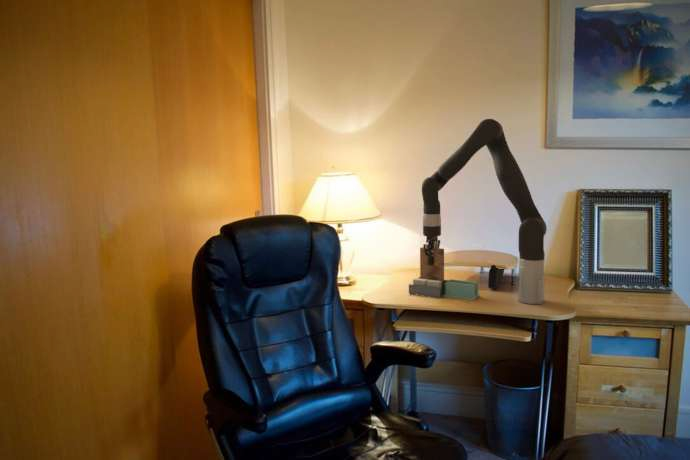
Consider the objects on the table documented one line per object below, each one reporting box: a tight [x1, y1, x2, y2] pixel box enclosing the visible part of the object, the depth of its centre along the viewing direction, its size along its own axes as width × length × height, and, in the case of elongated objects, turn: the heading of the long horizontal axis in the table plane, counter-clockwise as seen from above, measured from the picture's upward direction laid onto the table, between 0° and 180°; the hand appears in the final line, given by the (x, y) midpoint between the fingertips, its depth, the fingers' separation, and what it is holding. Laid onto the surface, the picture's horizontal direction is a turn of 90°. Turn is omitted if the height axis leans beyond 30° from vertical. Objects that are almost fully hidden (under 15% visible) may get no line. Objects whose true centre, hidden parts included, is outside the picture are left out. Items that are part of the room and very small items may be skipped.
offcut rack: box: [408, 276, 450, 299], centre depth 219 cm, size 14×11×5 cm
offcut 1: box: [412, 277, 428, 286], centre depth 219 cm, size 6×3×5 cm, turn 58°
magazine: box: [487, 264, 505, 289], centre depth 233 cm, size 18×3×31 cm
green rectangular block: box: [444, 278, 480, 302], centre depth 213 cm, size 12×8×6 cm, turn 58°
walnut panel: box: [419, 246, 445, 282], centre depth 220 cm, size 10×2×14 cm, turn 58°
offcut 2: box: [426, 280, 442, 288], centre depth 216 cm, size 6×3×5 cm, turn 58°
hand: (432, 264), depth 220 cm, fingers closed on walnut panel, 2 cm apart
